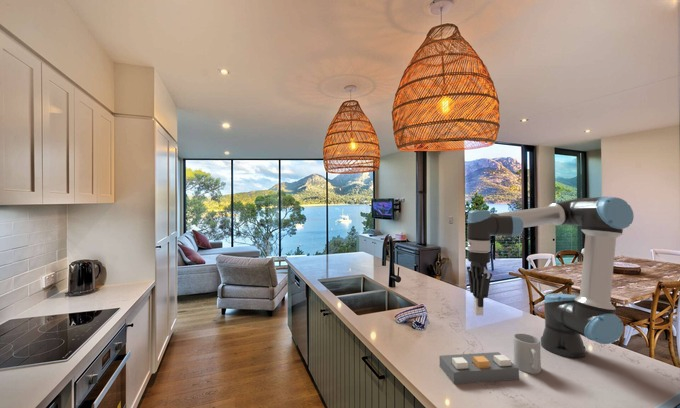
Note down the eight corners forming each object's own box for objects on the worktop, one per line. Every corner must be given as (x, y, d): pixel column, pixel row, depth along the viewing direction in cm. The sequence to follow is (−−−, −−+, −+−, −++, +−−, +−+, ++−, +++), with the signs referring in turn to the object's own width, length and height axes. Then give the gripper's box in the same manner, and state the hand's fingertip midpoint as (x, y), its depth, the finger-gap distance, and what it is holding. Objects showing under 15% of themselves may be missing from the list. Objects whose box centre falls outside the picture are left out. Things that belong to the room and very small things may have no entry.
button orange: (483, 364, 102) (483, 355, 102) (489, 370, 99) (489, 361, 99) (473, 365, 102) (472, 356, 102) (478, 371, 98) (478, 361, 98)
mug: (510, 360, 111) (509, 332, 111) (534, 362, 109) (533, 334, 109) (523, 378, 99) (523, 347, 99) (550, 381, 97) (550, 349, 97)
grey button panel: (498, 362, 109) (498, 346, 109) (519, 379, 98) (518, 361, 98) (439, 366, 107) (439, 349, 107) (453, 384, 96) (453, 365, 96)
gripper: (460, 248, 111) (460, 308, 110) (478, 254, 98) (478, 321, 97) (478, 248, 111) (478, 308, 111) (499, 254, 98) (499, 321, 98)
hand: (478, 314), depth 104 cm, fingers closed
